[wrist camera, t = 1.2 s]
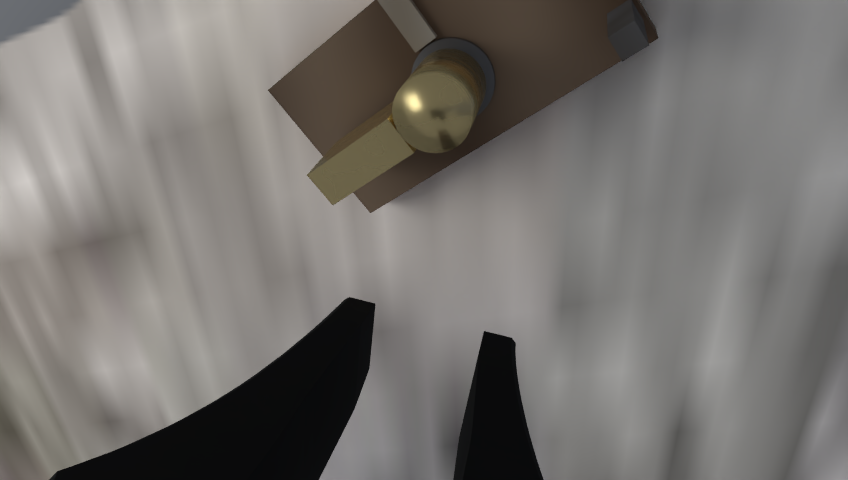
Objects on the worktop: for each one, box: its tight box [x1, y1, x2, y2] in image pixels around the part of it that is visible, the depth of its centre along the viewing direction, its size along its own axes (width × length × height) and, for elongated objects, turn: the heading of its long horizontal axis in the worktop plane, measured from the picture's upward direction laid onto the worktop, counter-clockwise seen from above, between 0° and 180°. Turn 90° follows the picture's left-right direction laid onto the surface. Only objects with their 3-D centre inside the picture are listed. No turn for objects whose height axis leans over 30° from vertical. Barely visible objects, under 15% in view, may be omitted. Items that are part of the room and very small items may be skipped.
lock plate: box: [268, 0, 658, 213], centre depth 18 cm, size 11×6×4 cm, turn 129°
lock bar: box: [307, 49, 486, 205], centre depth 18 cm, size 6×2×2 cm, turn 129°
